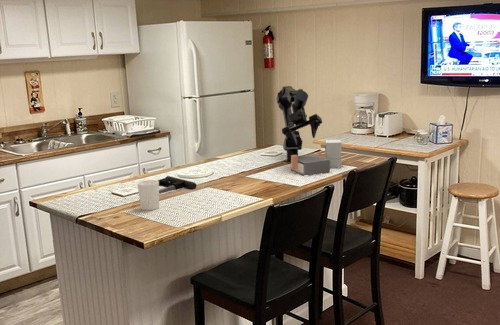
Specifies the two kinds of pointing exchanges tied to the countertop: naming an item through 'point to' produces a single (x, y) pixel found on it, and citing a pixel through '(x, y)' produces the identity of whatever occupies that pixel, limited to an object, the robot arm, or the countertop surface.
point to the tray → (297, 164)
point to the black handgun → (175, 184)
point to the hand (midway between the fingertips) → (304, 141)
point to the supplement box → (333, 152)
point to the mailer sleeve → (314, 164)
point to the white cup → (149, 194)
